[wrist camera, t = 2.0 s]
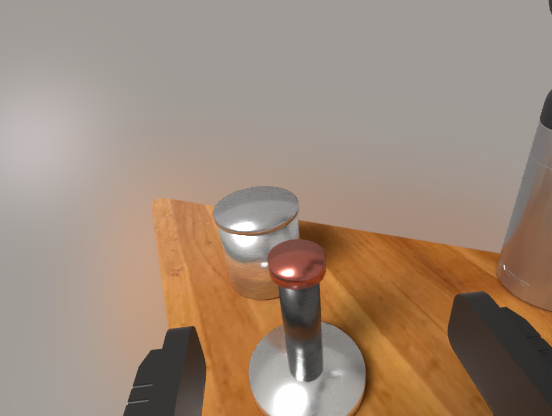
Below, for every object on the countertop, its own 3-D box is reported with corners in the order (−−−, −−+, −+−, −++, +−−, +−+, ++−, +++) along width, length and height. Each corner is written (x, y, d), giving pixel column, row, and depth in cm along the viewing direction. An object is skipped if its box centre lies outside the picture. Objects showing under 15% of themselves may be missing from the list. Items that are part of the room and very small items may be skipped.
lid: (348, 322, 34) (349, 210, 27) (382, 426, 25) (395, 299, 19) (250, 334, 34) (227, 226, 27) (251, 443, 25) (218, 322, 19)
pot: (298, 246, 46) (293, 182, 41) (309, 295, 38) (304, 223, 33) (230, 254, 46) (216, 191, 41) (226, 305, 38) (208, 234, 33)
